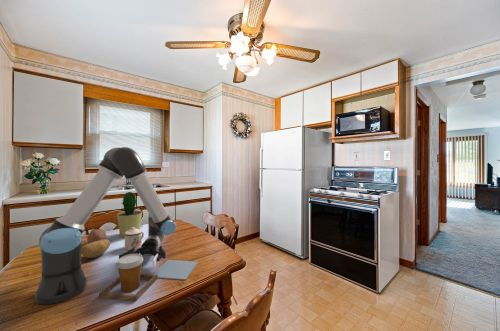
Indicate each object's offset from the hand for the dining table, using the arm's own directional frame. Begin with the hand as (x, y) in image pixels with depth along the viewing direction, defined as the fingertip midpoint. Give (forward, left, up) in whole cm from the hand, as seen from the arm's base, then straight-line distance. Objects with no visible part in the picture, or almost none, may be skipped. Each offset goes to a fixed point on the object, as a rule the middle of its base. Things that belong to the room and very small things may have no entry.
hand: (136, 264), depth 92 cm
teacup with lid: (-24, +34, -7) cm, 42 cm away
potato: (-36, +19, -7) cm, 41 cm away
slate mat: (+12, +11, -7) cm, 18 cm away
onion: (-49, +34, -7) cm, 60 cm away
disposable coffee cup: (0, -5, -7) cm, 9 cm away
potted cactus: (-40, +52, -7) cm, 66 cm away
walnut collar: (0, -5, -7) cm, 8 cm away
